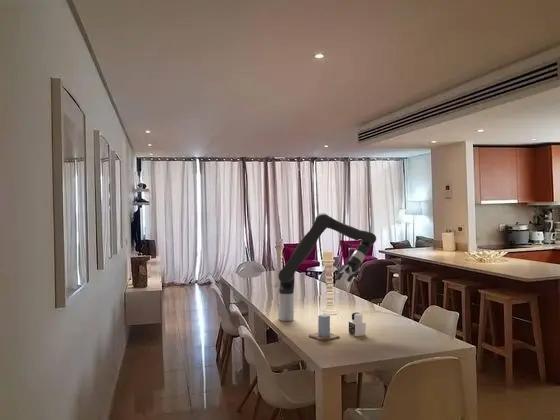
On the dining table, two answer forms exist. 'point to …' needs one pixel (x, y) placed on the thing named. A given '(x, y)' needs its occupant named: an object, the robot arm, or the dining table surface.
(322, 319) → the block
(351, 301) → the dining table surface
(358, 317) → the medicine bottle
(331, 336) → the board
